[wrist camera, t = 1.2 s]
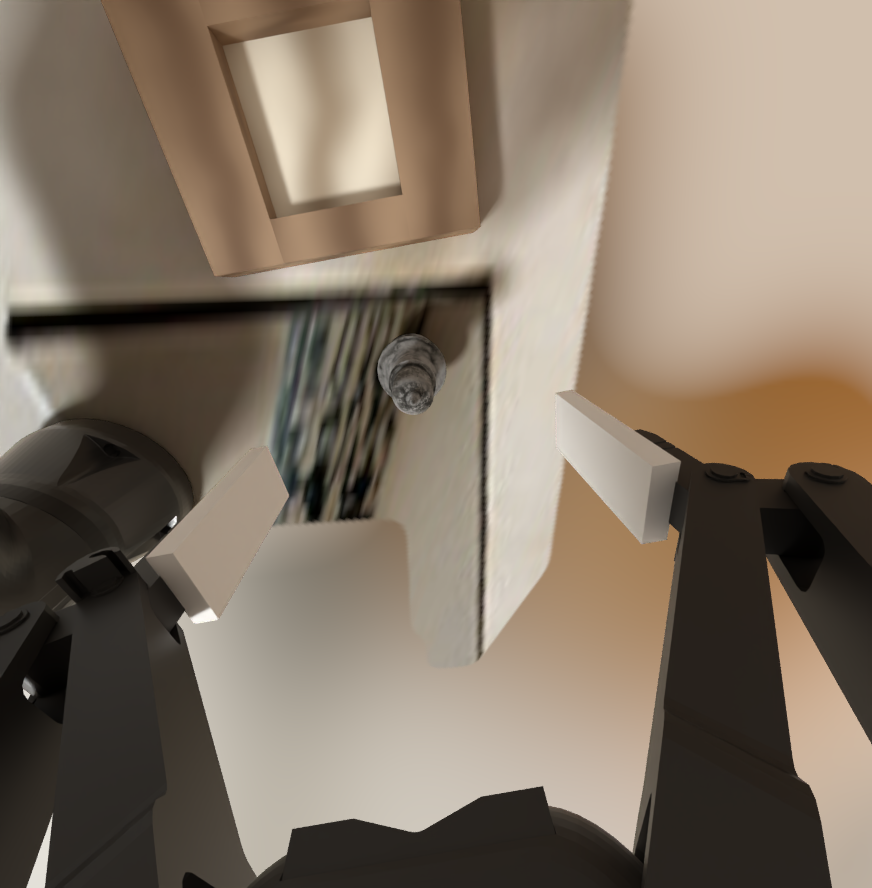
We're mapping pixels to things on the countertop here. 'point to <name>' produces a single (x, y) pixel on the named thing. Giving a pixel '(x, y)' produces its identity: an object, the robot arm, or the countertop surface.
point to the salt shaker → (412, 372)
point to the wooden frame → (307, 122)
